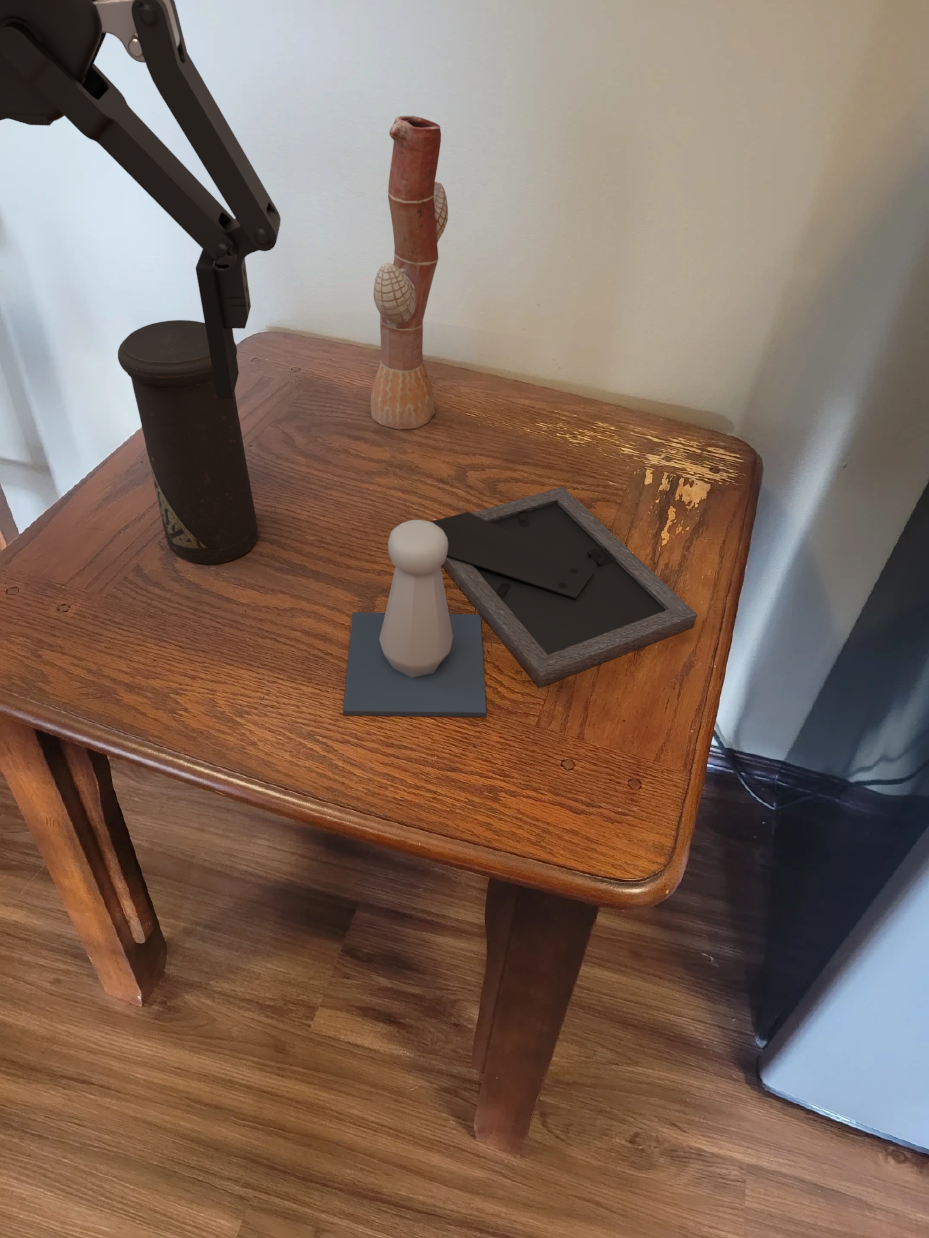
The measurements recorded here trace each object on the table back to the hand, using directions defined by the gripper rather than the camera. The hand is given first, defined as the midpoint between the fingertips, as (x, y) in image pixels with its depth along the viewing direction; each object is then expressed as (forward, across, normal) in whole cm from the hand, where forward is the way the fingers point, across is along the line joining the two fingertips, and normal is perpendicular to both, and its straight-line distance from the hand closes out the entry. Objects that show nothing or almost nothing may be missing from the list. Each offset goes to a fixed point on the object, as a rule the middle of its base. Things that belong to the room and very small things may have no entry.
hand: (91, 385), depth 43 cm
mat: (+29, -17, -7) cm, 34 cm away
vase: (+29, -18, -47) cm, 58 cm away
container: (+29, +1, -24) cm, 38 cm away
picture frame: (+29, -30, -17) cm, 45 cm away
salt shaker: (+28, -17, -7) cm, 34 cm away
